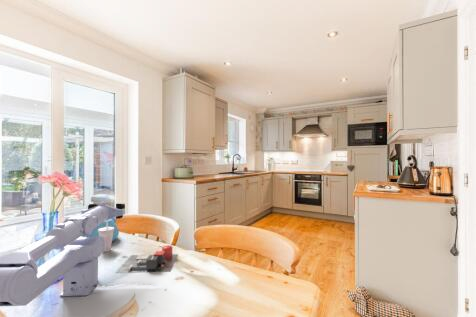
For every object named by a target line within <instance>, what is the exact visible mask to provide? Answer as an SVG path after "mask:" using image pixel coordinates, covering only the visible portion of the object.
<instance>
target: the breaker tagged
mask: <svg viewBox="0 0 476 317" xmlns="http://www.w3.org/2000/svg"><path fill="white" fill-rule="evenodd" d="M153 255H154V256H158V264H163V262H164V261H165V251H162V250H161V251H160V250H157V251H156V252H154V254H153Z"/></svg>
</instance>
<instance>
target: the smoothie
mask: <svg viewBox="0 0 476 317" xmlns="http://www.w3.org/2000/svg"><path fill="white" fill-rule="evenodd" d="M113 231H114V227H108V220H106V227H103V228H100V229H98V233H99V236H102V237H103V238H104V240H105V248H104V251H103V253H108V252H110V251H111V248H112V242H113V241H112V237H113Z"/></svg>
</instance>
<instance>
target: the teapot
mask: <svg viewBox="0 0 476 317" xmlns="http://www.w3.org/2000/svg"><path fill="white" fill-rule="evenodd" d="M116 223H117V219H116V217H115V218H112V219H109V220H108V227H114V231H113V237H112V242H113V241H115V240H116V239H117V238H118V237H119V233H120V232H119V228H118V225H117V224H116ZM103 227H106V221H104V222H102V223H101V224H99V225H98V226H96V228H94V229H93V231H92V233H91V234H90V235H87V236H81V237H99V233H98V229H100V228H103Z"/></svg>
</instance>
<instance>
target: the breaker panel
mask: <svg viewBox="0 0 476 317" xmlns="http://www.w3.org/2000/svg"><path fill="white" fill-rule="evenodd" d="M149 256H154V254H150V253H149V254H145V253H144V254H131V255H130V256H129V257H128V258H127V259H126V260H125V261H124V262H123V264H122V265H121V266H120V267H119V268H118V269H117V270H116V271H114V274H125V273H127V274H131V273H169V272H170V273H171V271H172V270H173V268H174V264H175V263H176V260H177V259H178V256H179V254H178V253H177V254H176V253H175V254H173V253H172V258H170V259H165V261H164V262H163V264H158V266H157V267H156V269H146V260H147V259H148V257H149Z"/></svg>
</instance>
